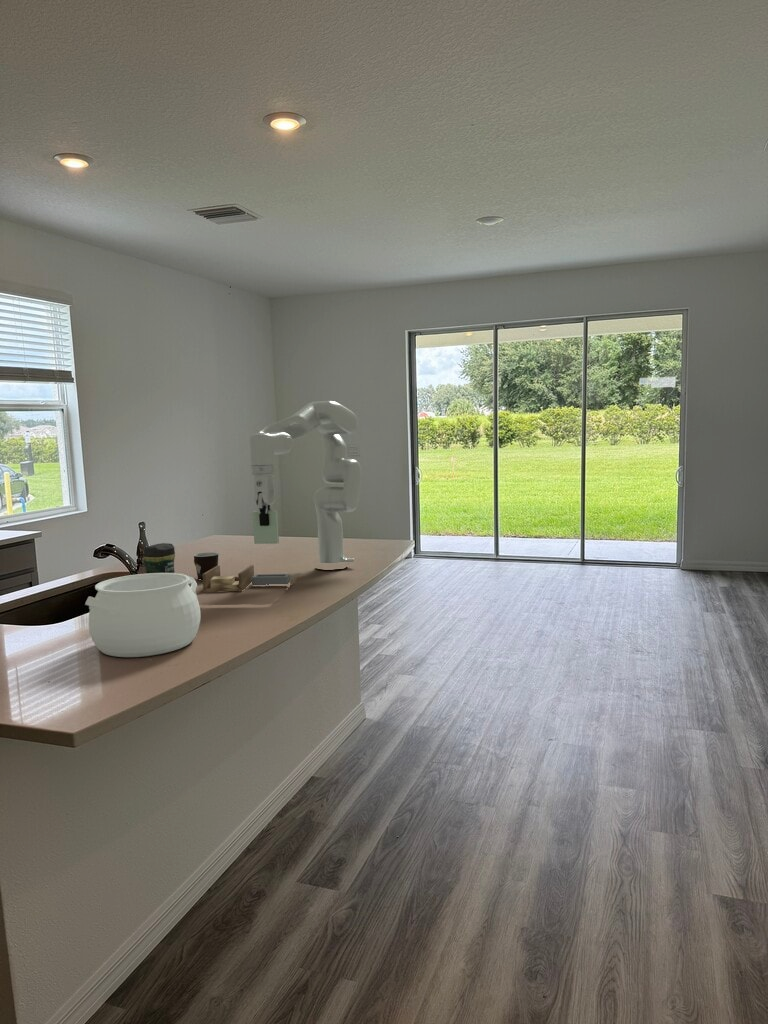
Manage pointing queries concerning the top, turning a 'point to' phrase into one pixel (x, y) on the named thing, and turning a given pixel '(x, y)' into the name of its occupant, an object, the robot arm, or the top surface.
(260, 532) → the board
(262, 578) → the holder
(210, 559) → the coffee mug
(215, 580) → the offcut top
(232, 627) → the top surface
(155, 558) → the coffee jar
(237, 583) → the offcut low
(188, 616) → the pot
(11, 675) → the top surface
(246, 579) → the rack
